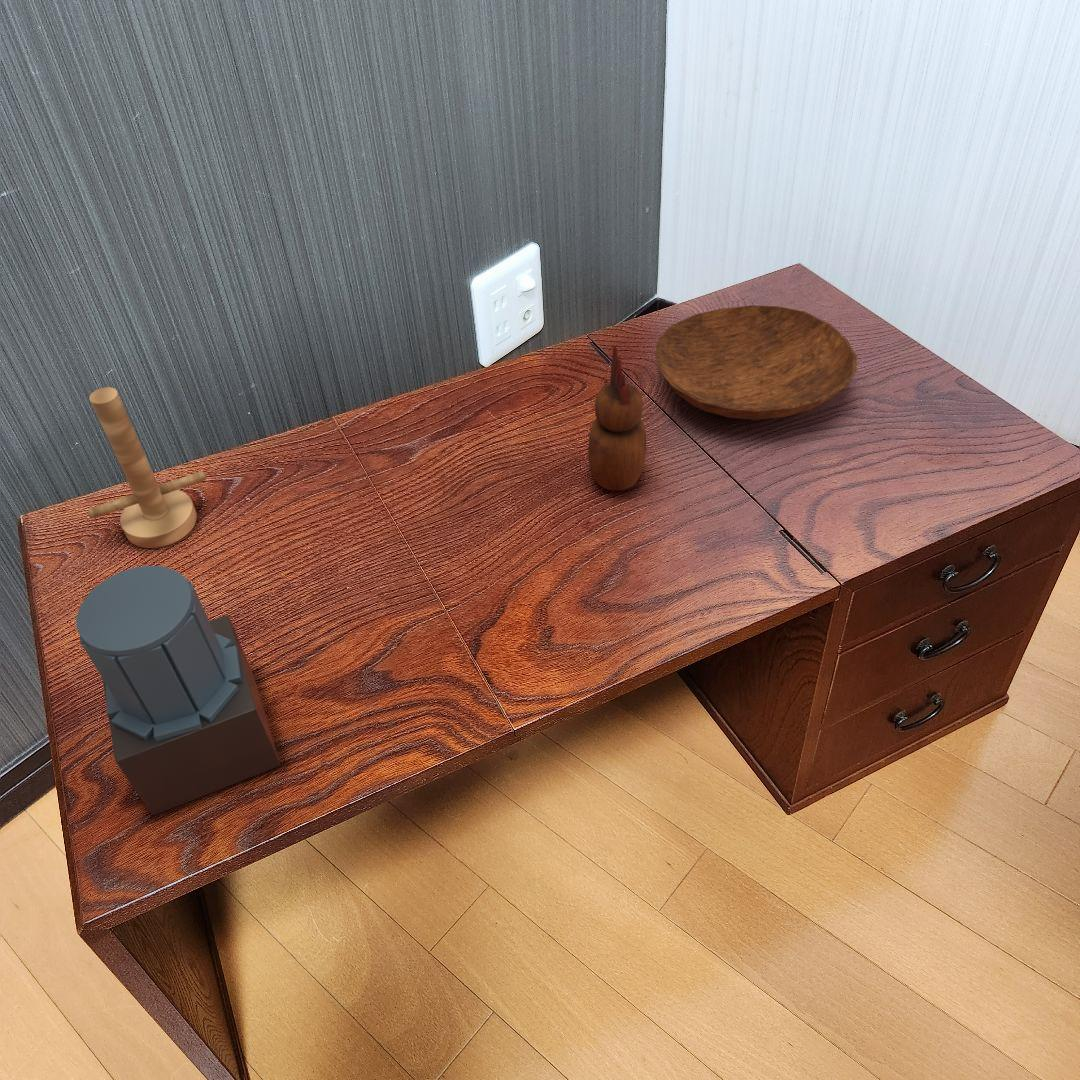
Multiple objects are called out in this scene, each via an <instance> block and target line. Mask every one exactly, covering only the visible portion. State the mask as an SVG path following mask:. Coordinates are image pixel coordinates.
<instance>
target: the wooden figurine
mask: <svg viewBox="0 0 1080 1080" xmlns="http://www.w3.org/2000/svg"><path fill="white" fill-rule="evenodd" d="M612 348H613V349H612V358H611V365H610V367H611V368H610V379H609V383H606V384H604V385H603V386H602V387H601V388H600V390H598V392H597V395H596V396H595V401H594V414H595V419H594V420H593V422H592V425H591V427H590V431H589V435H588V446H587V459H588V466H589V469H590V472H591V475H592V477H593V479H594V481H595V482H596V484H597V485H599V486H600V487H601V488H603V489H605V490H607V491H611V492H615V491H616V492H619V491H625V490H628V489H630V488H632V487H634V485H635V484H636V483H637V481H638V480H639V478H640V477H641V474H642V473H643V469H644V465H645V460H646V454H647V430H646V427H645V423H644V422H643V419H642V416H643V412H644V403H643V397H642V394H641V392H640V390H639V389H638V387H637V386H635V385H633V384H632V383H631V382H628V381H626V380H625V379H626V378H625V374H624V373H623V369H622V368H623V367H622V359H621V358H618V350H617V345H613V346H612Z"/></svg>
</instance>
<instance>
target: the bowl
mask: <svg viewBox="0 0 1080 1080" xmlns="http://www.w3.org/2000/svg"><path fill="white" fill-rule="evenodd" d="M654 356H655V359H656V363H657V366H658V367H657V368H658V370H659V372H660V375H662V377H663V379H665V381H666V382H667V384H668V385H669V386H670V387H671V389H672V390H673V392H674V393H675V394H677V395H678V396H679V397H681V398H682V399H683V400H684V401H686V402H687V403H689V405H691V406H692V407H694V408H697V409H699V410H702V411H704V412H706V413H710V414H713V415H717V416H722V417H726V418H728V419H729V418H730V419H739V420H740V419H741V420H752V421H759V420H767V419H768V420H769V419H779V418H785V417H786V418H787V417H790V416H793V415H794V416H795V415H798V414H800V413H804V412H808V411H810V410H813V409H814V408H816V407H818V406H820V405H822V404H823V403H825V402H826V401H829V400H830V399H832V398H834V397H835V396H837V395H839V394H840V393H841V392H843V390H844V389H846V387H848V386H849V385H850V382H851V381H852V379H853V378H854V376H855V375H856V372H857V371H858V355H857V353H856V352H855V350H854V349H853V347H852V345H851V343H850V342H849V340H848V338H846V337H845V336H844V335H843V334H842V333H841V332H840V331H839V330H838V329H836V327H834V326H833V325H832V324H831V323H829V322H827V321H825V320H823V319H820V318H819V317H817V316H815V315H813V314H811V313H809V312H806V311H805V310H799V309H794V308H789V307H785V306H784V307H783V306H780V305H779V306H778V305H757V304H755V305H754V304H752V305H741V306H732V307H731V306H730V307H723V308H718V309H713V310H709V311H705V312H699V313H695V314H692V315H690V316H688V317H686V318H684V319H682V320H680V321H677V322H675V323H673V324H671V325H668V327H667V329H665V331H664V332H663V333H662V334H661V335H660V337H659V338H658V339H657V343H656V345H655V351H654Z"/></svg>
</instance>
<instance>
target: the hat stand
mask: <svg viewBox="0 0 1080 1080" xmlns="http://www.w3.org/2000/svg"><path fill="white" fill-rule="evenodd" d="M88 399H89V402H90V405H91V406H92V408H93V411H94V413H95V415H96V417H97V419H98V421H99V423H100V426H101V428H102V430H103V432H104V434H105V435H106V436H105V437H106V439H107V440H108V442H109V445H110V446H111V449H112V451H113V454H114V455H115V457H116V460H117V461H118V464H119V466H120V468H121V470H122V472H123V474H124V476H125V479H126V480H127V483H128V485H129V487H130V490H131V491H132V493H131V494H130V495H129V494H128V495H126V496H123V497H120V498H117V499H114V500H111V501H108V502H105V503H103V504H99V505H97V506H93V507H90V508H89V509H88V511H87V515H88V517H89V518H91V519H96V518H97V519H98V518H100V517H102V516H105V515H108V514H111V513H114V512H117V511H120V510H122V511H121V513H120V517H119V520H120V521H119V522H120V526H121V529H122V532H123V533H124V535H125V537H126V539H127V540H128V541H129V542H130V543H131V544H133V545H134V546H137V547H138V548H143V549H157V548H163V547H166V546H170V545H173V544H175V543H176V542H179V541H180V540H182V539H183V538H185V537H186V536H187V535H188V534H189V533H191V531H192V530H193V528H194V527H195V525H196V523H197V520H198V519H197V518H198V513H197V510H196V508H195V505H194V503H193V500H192V499H191V497H190V496H189V494H187V493H186V492H184V491H182V490H181V489H185V488H188V487H191V486H193V485H196V484H199V483H202V482H204V481H206V480H207V477H208V476H207V474H206V472H205V471H196V472H195V473H191V474H188V475H186V476H182V477H179V478H176V479H173V480H170V481H167V482H164V483H161V484H159V482H158V481H157V478H156V476H155V474H154V471H153V469H152V467H151V465H150V463H149V460H148V458H147V456H146V453H145V451H144V449H143V447H142V444H141V441H140V440H139V438H138V435H137V433H136V430H135V428H134V427H133V424H132V421H131V419H130V417H129V414H128V411H127V410H126V408H125V406H124V403H123V401H122V399H121V397H120V394H119V392H118V390H117V389H116V388H114V387H111V386H106V387H101V388H98V389H96V390H94V391H93V392H91V394H90V395H89V397H88Z"/></svg>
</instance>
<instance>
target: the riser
mask: <svg viewBox="0 0 1080 1080" xmlns="http://www.w3.org/2000/svg"><path fill="white" fill-rule="evenodd" d="M209 622H210V624H211V626H212V628H213V631H214V633H216V634H218V635H221V636H223V637H225V638H228V639H230V640H231V641H232V646H236V647H237V650H238V656H239V663H240V670H241V678H242V681H241V682H238V683H234V684H235V685H237V686H238V689H239V690H238V691H237V693H236V694H235V695H234V696H233V697H232V698H231V700H230V701H229V702H228V703H227V704H226V705H225V707H224V708H223V709H222V710H221V711H220V713H219V714H218V715H217V716H216V717H215V718H214V720H213V721H212V722H209V721H207V720H205V719H203V718H201V723H202V729H198V730H195V731H191V732H188V733H184V734H181V735H177V736H174V737H170V738H167V739H163V740H160V741H156V740H155V738H154V733H153V734H152V735H151V737H150V738H149V739H148V740H147V741H146V740H144V739H142V738H140V737H138V736H136V735H133V734H131V733H129V732H127V731H125V730H123V729H121V728H119V727H117V726H115V725H113V723H112V721H111V720H112V719H113V718H114V717H113V718H109V717H108V723H109V730H110V735H111V742H112V747H113V748H112V749H113V756H114V760H115V763H116V764H117V766H118V767H119V769H120V770H121V772H122V774H124V776H125V778H126V779H127V780H128V782H129V784H130V785H131V786H132V788H133V789H134V791H135V793H136V794H137V796H138V797H139V798H140V800H141V801H142V802H143V804H144V805H145V807H146V809H147V811H149V813H150V814H151V816H152V817H154V816H156V815H159V814H162V813H164V812H167V811H169V810H173V809H174V808H177V807H179V806H182V805H185V804H187V803H189V802H192V801H195V800H197V799H200V798H203V797H205V796H207V795H210V794H213V793H215V792H218V791H220V790H223V789H225V788H228V787H230V786H233V785H236V784H238V783H240V782H243V781H245V780H248V779H251V778H253V777H256V776H259V775H261V774H264V773H266V772H269V771H271V770H274V769H276V768H279V767H281V765H282V764H281V761H280V757H279V754H278V751H277V748H276V745H275V741H274V738H273V735H272V732H271V728H270V725H269V722H268V717H267V714H266V712H265V707H264V705H263V701H262V698H261V696H260V695H261V694H260V691H259V689H258V685H257V681H256V678H255V674H254V672H253V670H252V668H251V665H250V663H249V660H248V658H247V656H246V653H245V651H244V649H243V646H242V645H241V644H242V643H241V642H240V639H239V637H238V635H237V632H236V630H235V627H234V626H233V623H232V620H231V618H230V616H229V615H228V614H227V615H224V616H221V617H218V618H215V619H212V620H209ZM232 646H231V647H232ZM101 679H102V687H103V691H104V692H103V693H104V698H105V700H106V683H105V681H104V680H103V678H102V677H101Z"/></svg>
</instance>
